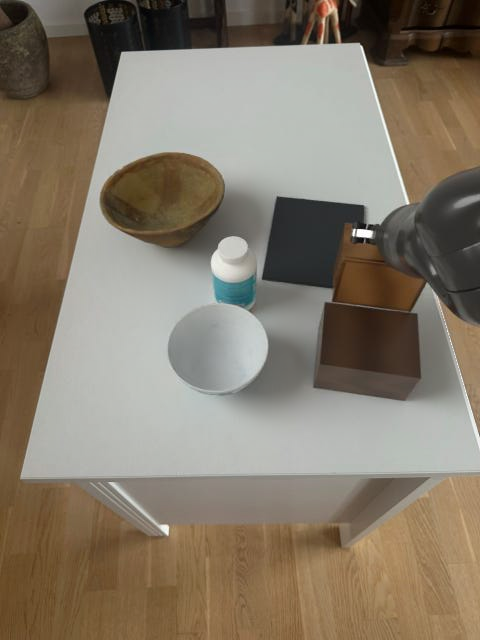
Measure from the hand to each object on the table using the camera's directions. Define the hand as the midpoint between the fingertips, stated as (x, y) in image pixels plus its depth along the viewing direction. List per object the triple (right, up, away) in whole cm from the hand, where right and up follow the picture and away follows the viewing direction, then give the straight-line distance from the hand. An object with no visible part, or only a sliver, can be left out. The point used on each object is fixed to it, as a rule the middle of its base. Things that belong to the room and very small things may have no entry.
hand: (389, 235), depth 61 cm
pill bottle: (-21, -8, +18) cm, 29 cm away
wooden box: (-1, -7, +2) cm, 7 cm away
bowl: (-35, +6, +27) cm, 45 cm away
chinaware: (-24, -20, +10) cm, 33 cm away
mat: (-6, +4, +25) cm, 26 cm away
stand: (-1, -19, +10) cm, 21 cm away
